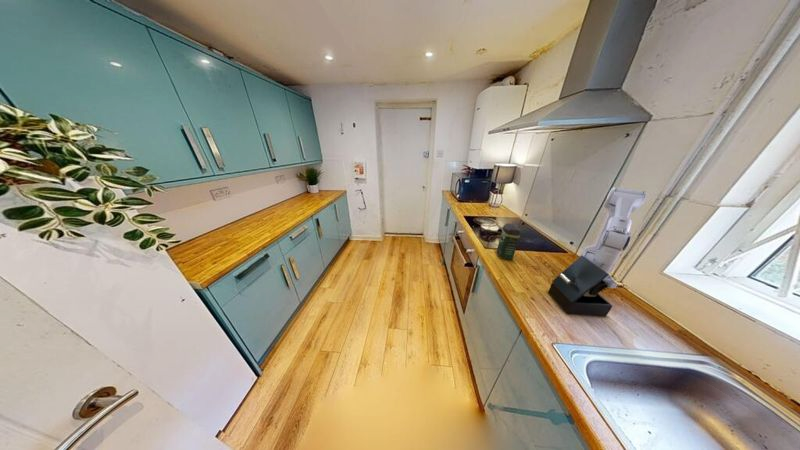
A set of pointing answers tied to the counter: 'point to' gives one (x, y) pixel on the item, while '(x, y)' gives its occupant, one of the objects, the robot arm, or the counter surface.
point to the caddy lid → (579, 278)
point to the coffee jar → (508, 241)
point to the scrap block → (589, 294)
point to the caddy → (580, 303)
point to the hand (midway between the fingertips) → (587, 289)
